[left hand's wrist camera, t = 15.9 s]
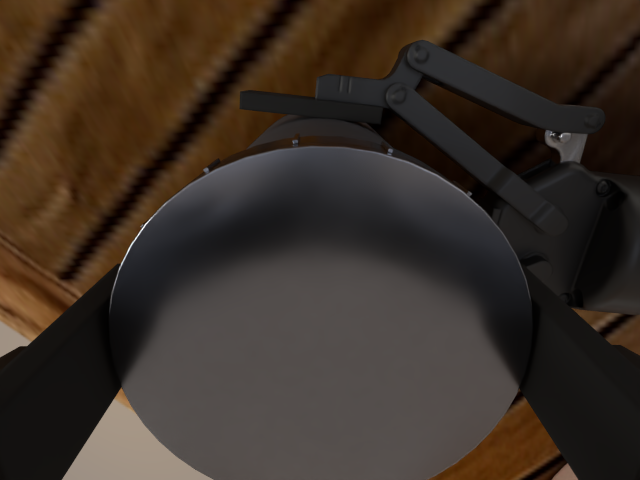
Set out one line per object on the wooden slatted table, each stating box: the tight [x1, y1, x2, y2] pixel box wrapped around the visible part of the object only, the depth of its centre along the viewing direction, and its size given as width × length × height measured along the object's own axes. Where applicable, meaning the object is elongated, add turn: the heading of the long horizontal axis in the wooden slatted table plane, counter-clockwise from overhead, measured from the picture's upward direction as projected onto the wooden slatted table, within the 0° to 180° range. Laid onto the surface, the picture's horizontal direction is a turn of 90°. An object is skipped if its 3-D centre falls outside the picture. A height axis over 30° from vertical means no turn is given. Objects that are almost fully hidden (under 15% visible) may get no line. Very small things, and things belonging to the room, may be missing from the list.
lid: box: [108, 133, 533, 480], centre depth 12 cm, size 11×11×2 cm
